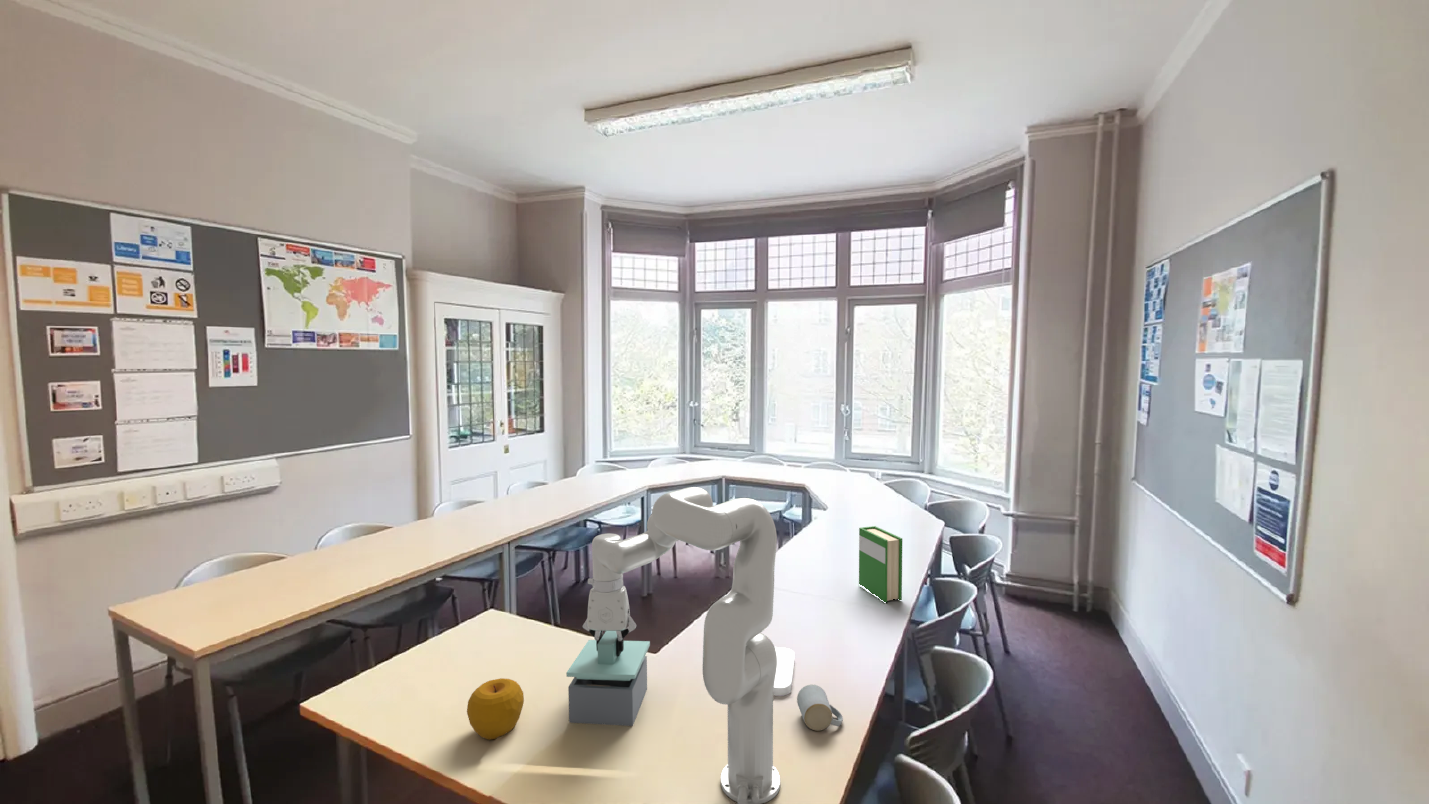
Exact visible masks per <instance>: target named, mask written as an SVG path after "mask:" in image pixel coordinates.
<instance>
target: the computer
mask: <svg viewBox="0 0 1429 804" xmlns="http://www.w3.org/2000/svg"><path fill="white" fill-rule="evenodd" d="M774 647H775V650H776V654H777V670H776V677H775V683H774V691H773V697H774V696H775V697H783V696H787V695H789V694H790V693H791V691H792V686H793V678H794V677H793V676H794V671H795V670H794V669H795V662H796V661H795V658H796V657H795V656H796V654H795V651H794V650H792V649H790V648H787V647H781V646H780V647H779V646H778V647H777V646H774Z"/></svg>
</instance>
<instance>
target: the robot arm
mask: <svg viewBox="0 0 1429 804" xmlns="http://www.w3.org/2000/svg"><path fill="white" fill-rule="evenodd" d="M646 528H647V530H646V531H644V532H643V533H641V534H637V535H633V536H631V537H628V538H625V539H622V536H620V535H619V534H617V533H601V534H599V535H596V536H595V537H593V539H592V542H591V550H592V552H591V554H592V555H591V557H592V578H588V579H587V584H588V585H591V586H592V588H591V589H590V590H589V593H588V594H589V595H588V603H587V617H586V620H585V622H584V623H583V625H582V628H583V630H586V631H587V632H589V634H590V635H591V636H593V638H594V639H593V640H596V647H597V651H598V645H597V644H598V643H599V641H600V640H601V638H602V637H603V635H604V633H603V631H604V632H606V631H616V634H617V641H616V656H619V655H620V654H621V652H623V649H624V641H625V640H624V638H626V637H627V635H628V634H629V633H631V632H633V631H635V629H636V628H637V624H636V621H634V619H633V618H632V617H631V612H630V604H629V597H628V592H627V588H626V586H625V585H624V574H625V573H628V572H630V571H633V570H635V569H637V568H641V567H642V566H646V565H648V564H650V563H652V562H653V563H654V561H656V560H657V559H659V558H660V557H663V555H665V554H666V553H668V552H669V551H670V550H672V548H674V546H675V544H676V543H677V542H678V541H680V542H684V543H686V544H688V545H691V546H693V547H696V548H699V549H701V550H705V551H719V550H723V549H725V548H727V547H729V546H731V545H733V544H734V545H735V544H736V543H738V542H739V548H738V550H737V552H736V555H735V558H734V562H733V569H732V573H733V575H732V585H731V590H730V591H729V593H728V594H727V595H725V596H724V597H721V598H720V599H718V600H716V601H715V602H714V603H713V604H712V605H711V606H710V607H709V609H708V611H707V612H706V615H705V618H704V624H703V638H702V639H703V640H702V641H703V645H702V678H703V679H702V680H703V683H704V686H705V689H706V691H707V693H708V695H709V696H710V697H711V698H712V700H714V701H715V702H716V703H718V704H720V705H727V764H726V765H725V766H724V768H723V769H722V770H721V774H720V786H721V788H722V789H721V790H722V791H723V793H724V794H725V795H726V796H727V797H729V799H731V800H732V801H734V802H737V804H766V803H767V802H769V801H772V800H773V798H775V797H776V796H777V795H778V794H779V791H780V789H781V776H780V773H779V771H778V769H777V768H776V767H775V766H774V695H773V691H774V683H775V677H776V670H777V654H776V650H775V647H776V646H775V645H774V644H773V642H772V640H771V639H770V638H769V637H768V636H767V635H765V634H764V633H762V632H764V631H765V630H766V629H767V628H768V627H769V626H770V625H771V623H772V620H773V616H774V599H775V598H774V597H775V596H774V594H775V567H776V566H775V565H776V554H777V541H778V540H777V539H778V537H777V535H778V534H777V529H776V525H775V521H774V519H773V517H772V515H771V513H770V511H768V509H767V508H766V507H765V506H764V505H763V503H760V502H759V501H757V500H755V499H753V498H748V497H739V498H734V499H730V500H727V501H724V502H722V503H718V504H715V505H714V502H713V499H712V496H711V495H710V493H709V492H708V491H707V490H705V489H703V488H702V487H699V486H689V487H684V488H682V489H677V490H674V491H670V492H666V493H664V494H662V495H661V496H659V497H658V498H657V499H656V501H655V502H654V504H653V506H652V510H651V514H650V516H649V517H648V520H647V523H646Z"/></svg>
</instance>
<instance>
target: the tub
mask: <svg viewBox="0 0 1429 804" xmlns="http://www.w3.org/2000/svg"><path fill="white" fill-rule="evenodd" d="M647 657H648V656H647V655H645V658H644V660H643V662H642V664H641V667H640V669H639V671H638V673H637V676H636V678H635V679H630V681H623V680H592V679H576V677H573V679H572V681H571V682H570V683H569V685H568V690H567V691H568V722H569V723H572V724H573V723H574V724H588V725H589V724H591V725H606V726H607V725H608V726H609V725H610V726H624V727H626V726H627V727H629V726H630V727H634V724H635V721H636V719H637V717H638V714H639V711H640V709H641V706H642V704H643V700H644V698H645V695H646V692H647V690H648V662H647V661H648V658H647ZM591 685H604V686H591Z"/></svg>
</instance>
